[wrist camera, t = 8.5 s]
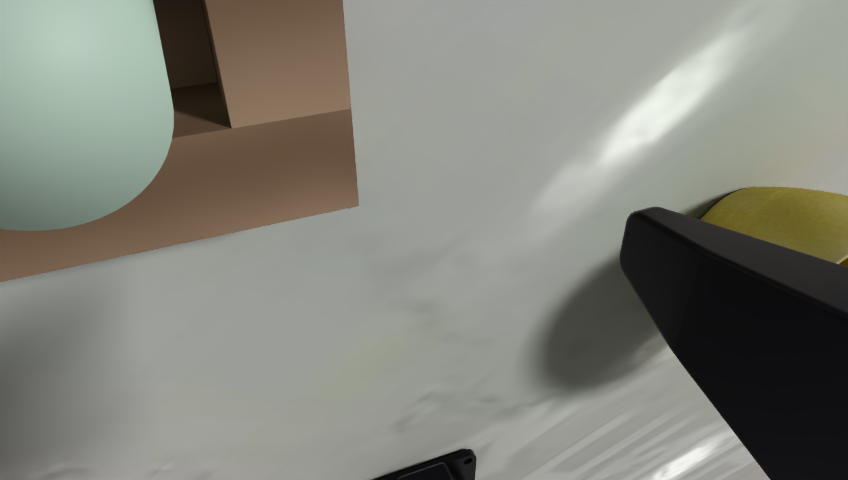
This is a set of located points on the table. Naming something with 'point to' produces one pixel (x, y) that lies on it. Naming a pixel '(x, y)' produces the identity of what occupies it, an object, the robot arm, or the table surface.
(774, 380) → the robot arm
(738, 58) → the table surface
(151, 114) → the sage peg
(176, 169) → the walnut socket
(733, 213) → the yellow bowl
